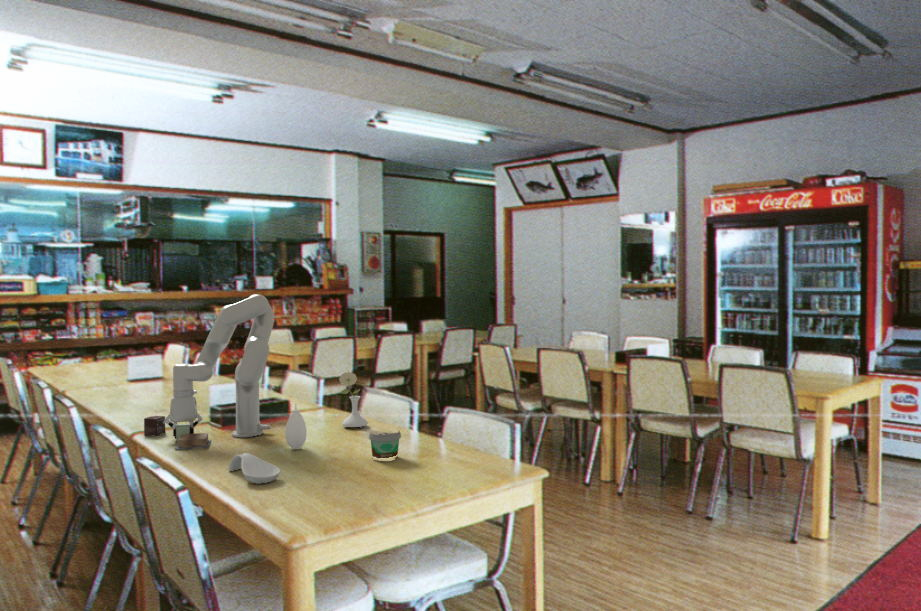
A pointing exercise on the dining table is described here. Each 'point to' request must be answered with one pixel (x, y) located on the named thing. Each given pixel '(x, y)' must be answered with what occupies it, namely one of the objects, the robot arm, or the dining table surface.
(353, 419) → the flower in vase
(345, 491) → the dining table surface
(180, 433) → the block
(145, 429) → the box
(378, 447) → the food container
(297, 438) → the sauce bottle
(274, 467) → the spoon rest
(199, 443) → the plinth
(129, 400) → the dining table surface
